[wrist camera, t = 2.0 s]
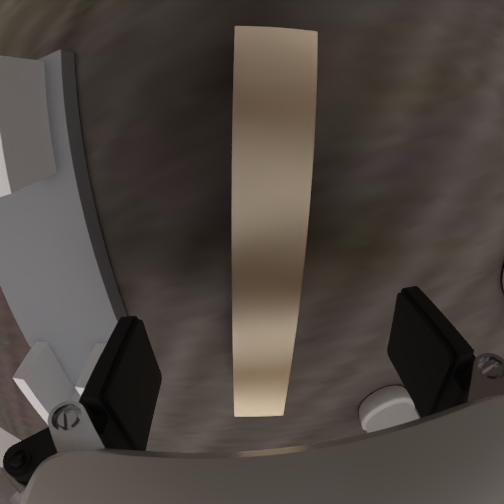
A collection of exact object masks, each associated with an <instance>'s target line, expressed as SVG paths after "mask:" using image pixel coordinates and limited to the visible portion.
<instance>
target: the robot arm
mask: <svg viewBox="0 0 504 504" xmlns="http://www.w3.org/2000/svg"><path fill="white" fill-rule="evenodd" d="M387 352H388V356H389V358H390V360H391V362H392V364H393V365H394V367H395V369H396V371H397V373H398V375H399V376H400V378H401V380H402V382H403V384H404V386H405V388H406V390H407V391H408V393H409V395H410V397H411V399H412V401H413V403H414V405H415V407H416V409H417V411H418V413H419V415H420V417H421V418H419V419H416V420H413V421H410V422H407V423H403V424H400V425H396V426H393V427H389V428H385V429H382V430H378V431H374V432H370V433H365V434H361V435H357V436H352V437H347V438H342V439H337V440H332V441H327V442H321V443H315V444H308V445H302V446H294V447H286V448H278V449H268V450H256V451H242V452H219V453H180V452H152V451H145V450H146V446H147V441H148V437H149V432H150V428H151V423H152V419H153V414H154V410H155V406H156V402H157V397H158V393H159V389H160V385H161V380H162V377H161V372H160V369H159V366H158V364H157V361H156V358H155V356H154V353H153V350H152V347H151V344H150V341H149V339H148V336H147V333H146V330H145V327H144V324H143V321H142V320H138V318H137V317H136V316H123V317H120V319H119V321H118V323H117V324H116V326H115V328H114V330H113V332H112V334H111V336H110V338H109V340H108V342H107V344H106V346H105V348H104V350H103V352H102V354H101V355H100V357H99V359H98V361H97V363H96V365H95V367H94V369H93V371H92V373H91V376H90V378H89V380H88V382H87V384H86V386H85V388H84V391H83V393H82V395H81V397H80V399H79V402H76V401H65V402H62V403H60V404H58V405H57V406H55V407H54V408H53V409H52V410H51V412H50V414H49V416H48V426H49V427H48V428H46V429H44V430H42V431H40V432H38V433H36V434H34V435H32V436H30V437H28V438H26V439H24V440H23V441H21V442H19V443H17V444H15V445H13V446H12V447H10V448H9V449H8V450H7V451H6V453H5V455H4V459H3V465H4V466H3V467H2V468H1V467H0V504H504V359H503V358H501V357H500V356H498V355H495V354H492V353H484V354H481V355H479V356H477V358H476V357H475V356H474V355H473V353H474V350H473V349H472V347H471V346H470V345H469V344H468V343H467V341H466V340H465V339H464V338H463V337H462V336H461V334H460V333H459V332H458V331H457V330H456V328H455V327H454V326H453V325H452V324H451V323H450V322H449V320H448V319H447V318H446V317H445V316H444V315H443V314H442V313H441V311H440V310H439V309H438V308H437V307H436V306H435V305H434V304H433V303H432V301H431V300H430V299H429V298H428V297H427V296H426V295H425V294H424V293H423V292H422V291H421V290H420V289H419V287H417V286H413V287H408V288H403V289H402V290H401V293H398V295H397V300H396V306H395V312H394V318H393V323H392V328H391V333H390V338H389V343H388V348H387Z"/></svg>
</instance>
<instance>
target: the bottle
mask: <svg viewBox="0 0 504 504" xmlns="http://www.w3.org/2000/svg"><path fill="white" fill-rule="evenodd" d="M359 416H360V421H361V425H362V428H363V429H364V430H366V431H367V433H370V432H374V431H378V430H382V429H385V428H389V427H393V426H396V425H400V424H403V423H407V422H410V421H413V420H416V419H419V417H418V415H417V413H416V411H415V409H414V403H413V401H412V399H411V397H410V395H409V393H408V391H407V390H406V389H405V388H404V387H403V386H398V385H393V386H387V387H384V388H382V389H379V390H377V391H375V392H374V393H372V394H371V395H369V396H368V397H367V398H366V399H365V400H364V401H363V402H362V403H361V406H360V408H359Z"/></svg>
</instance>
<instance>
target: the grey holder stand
mask: <svg viewBox="0 0 504 504" xmlns="http://www.w3.org/2000/svg"><path fill="white" fill-rule="evenodd" d="M0 286H1V288H2V291H3V293H4V295H5V298H6V300H7V302H8V304H9V306H10V309H11V311H12V313H13V315H14V317H15V319H16V321H17V323H18V325H19V327H20V329H21V331H22V333H23V335H24V337H25V338H26V340H27V342H28V344H29V346H30V348H31V350H30V351H29V353H28V354H27V356H26V357H25V359H24V360H23V362H22V363H21V365H20V366H19V368H18V370H17V371H16V373H15V374H14V376H13V379H14V381H15V382H16V384H17V385H18V386H19V388H20V389H21V391H22V392H23V393H24V395H25V396H26V398H27V399H28V400H29V402H30V403H31V404H32V406H33V407H34V408H35V409H36V411H37V412H38V413H39V414H40V416H41V417H42V418H43V419H44V421H45V422H46V423H47V424H48V416H49V414H50V412H51V410H52V409H53V408H54V407H55V406H57V405H58V404H60V403H62V402H65V401H76V402H79V399H80V397H81V395H82V393H83V391H84V388H85V386H86V384H87V382H88V380H89V378H90V376H91V373H92V371H93V369H94V367H95V365H96V363H97V361H98V359H99V357H100V355H101V354H102V352H103V350H104V348H105V346H106V344H107V342H108V340H109V338H110V336H111V334H112V332H113V330H114V328H115V326H116V324H117V323H118V321H119V319H120V317H123V316H127V314H126V311H125V308H124V305H123V302H122V299H121V296H120V293H119V290H118V287H117V284H116V281H115V278H114V275H113V271H112V268H111V265H110V261H109V258H108V254H107V251H106V247H105V244H104V240H103V236H102V232H101V228H100V224H99V220H98V216H97V212H96V208H95V203H94V199H93V194H92V190H91V185H90V180H89V175H88V169H87V164H86V158H85V152H84V146H83V140H82V133H81V125H80V118H79V109H78V100H77V89H76V77H75V60H74V53H72V52H69V51H65V50H61V49H60V50H58V51H56V52H53V53H51V54H49V55H47V56H44V57H42V58H40V59H38V60H31V59H24V58H16V57H8V56H0Z"/></svg>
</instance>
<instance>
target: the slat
mask: <svg viewBox="0 0 504 504" xmlns="http://www.w3.org/2000/svg"><path fill="white" fill-rule="evenodd" d="M317 46H318V32H317V31H309V30H300V29H290V28H277V27H259V26H235V38H234V72H233V119H232V332H233V380H234V416H235V417H252V416H281V415H283V412H284V407H285V401H286V395H287V389H288V382H289V376H290V369H291V363H292V356H293V349H294V342H295V335H296V328H297V320H298V312H299V304H300V296H301V288H302V279H303V270H304V261H305V251H306V241H307V231H308V220H309V209H310V197H311V184H312V170H313V154H314V137H315V117H316V92H317Z"/></svg>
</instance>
